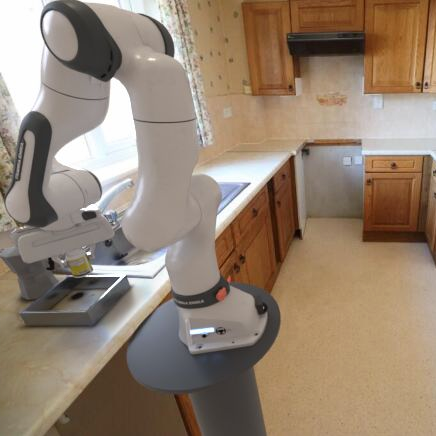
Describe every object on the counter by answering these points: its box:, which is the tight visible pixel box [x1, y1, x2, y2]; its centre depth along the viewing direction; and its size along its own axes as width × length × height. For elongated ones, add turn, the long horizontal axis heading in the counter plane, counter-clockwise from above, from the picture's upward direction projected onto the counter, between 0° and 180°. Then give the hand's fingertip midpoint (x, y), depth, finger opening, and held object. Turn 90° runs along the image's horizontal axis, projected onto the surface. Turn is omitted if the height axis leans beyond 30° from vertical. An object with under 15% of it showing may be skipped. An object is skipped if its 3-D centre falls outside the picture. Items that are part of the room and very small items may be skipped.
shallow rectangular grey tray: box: [18, 274, 131, 327], centre depth 91 cm, size 19×17×4 cm
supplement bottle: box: [64, 247, 94, 278], centre depth 89 cm, size 5×5×8 cm
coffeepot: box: [0, 245, 60, 301], centre depth 96 cm, size 15×9×18 cm, turn 90°
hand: (79, 262), depth 89 cm, fingers closed on supplement bottle, 5 cm apart
